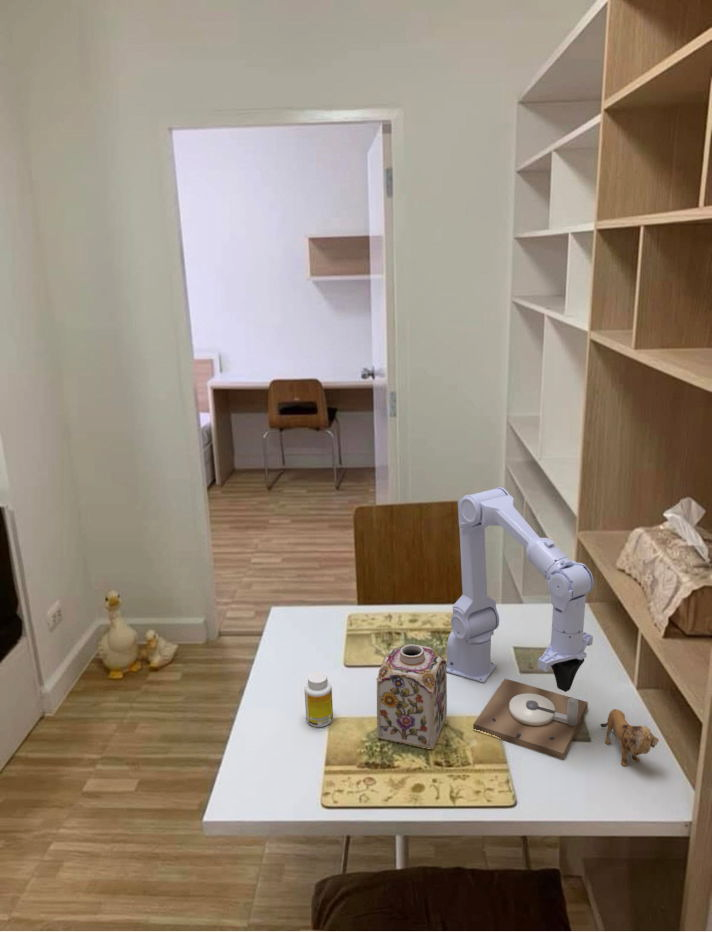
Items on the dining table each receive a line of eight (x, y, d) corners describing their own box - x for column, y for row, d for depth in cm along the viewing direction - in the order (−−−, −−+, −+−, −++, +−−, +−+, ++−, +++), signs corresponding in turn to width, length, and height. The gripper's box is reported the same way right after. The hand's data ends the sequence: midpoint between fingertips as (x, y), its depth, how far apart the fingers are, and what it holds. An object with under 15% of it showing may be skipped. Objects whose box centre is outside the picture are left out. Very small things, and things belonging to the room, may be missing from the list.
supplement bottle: (337, 723, 148) (335, 680, 145) (312, 731, 145) (310, 687, 142) (326, 708, 153) (324, 666, 150) (302, 716, 150) (299, 673, 147)
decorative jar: (433, 752, 138) (433, 671, 133) (376, 740, 142) (374, 660, 137) (447, 715, 149) (448, 638, 144) (394, 705, 153) (392, 630, 148)
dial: (503, 717, 145) (504, 696, 143) (516, 693, 152) (517, 673, 151) (571, 737, 139) (573, 715, 137) (581, 711, 146) (583, 690, 145)
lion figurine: (659, 773, 131) (664, 731, 128) (634, 780, 130) (638, 737, 127) (611, 724, 145) (614, 686, 142) (587, 730, 143) (590, 691, 141)
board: (473, 730, 144) (473, 723, 144) (504, 684, 159) (504, 677, 158) (563, 760, 135) (563, 752, 135) (587, 708, 150) (587, 701, 149)
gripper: (561, 648, 128) (557, 713, 132) (608, 621, 137) (603, 683, 141) (530, 633, 133) (526, 696, 137) (576, 608, 142) (572, 667, 146)
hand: (563, 688), depth 139 cm, fingers closed
